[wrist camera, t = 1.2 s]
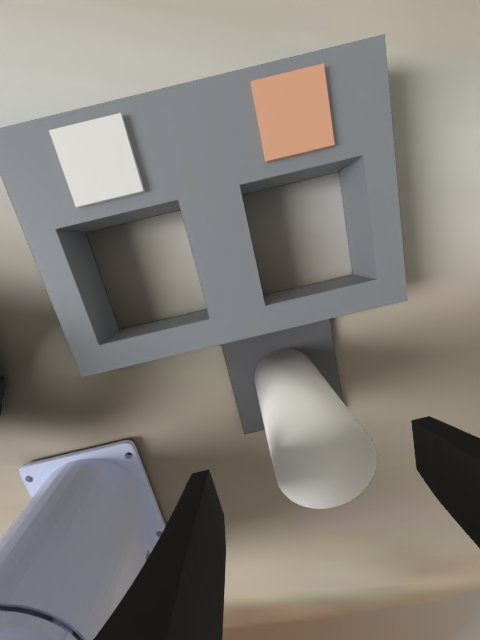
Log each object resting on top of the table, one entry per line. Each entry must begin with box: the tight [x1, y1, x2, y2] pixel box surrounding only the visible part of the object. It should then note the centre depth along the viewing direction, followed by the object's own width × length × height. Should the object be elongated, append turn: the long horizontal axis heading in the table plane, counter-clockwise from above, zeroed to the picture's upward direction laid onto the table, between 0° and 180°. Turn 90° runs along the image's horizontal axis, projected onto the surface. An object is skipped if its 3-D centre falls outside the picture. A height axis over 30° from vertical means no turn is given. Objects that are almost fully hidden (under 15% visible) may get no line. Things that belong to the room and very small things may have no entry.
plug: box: [254, 348, 377, 509], centre depth 15 cm, size 4×4×8 cm
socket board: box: [0, 34, 407, 377], centre depth 15 cm, size 12×18×3 cm, turn 103°
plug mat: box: [221, 319, 343, 434], centre depth 19 cm, size 7×7×1 cm
